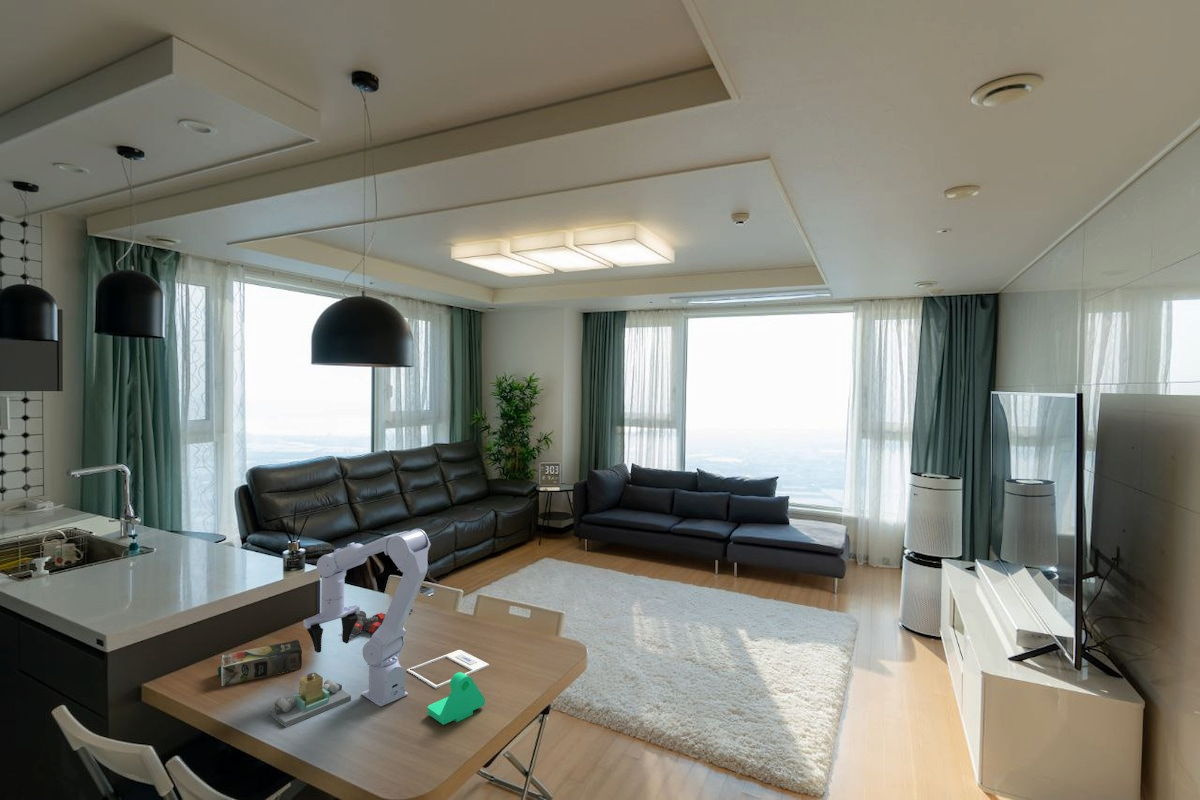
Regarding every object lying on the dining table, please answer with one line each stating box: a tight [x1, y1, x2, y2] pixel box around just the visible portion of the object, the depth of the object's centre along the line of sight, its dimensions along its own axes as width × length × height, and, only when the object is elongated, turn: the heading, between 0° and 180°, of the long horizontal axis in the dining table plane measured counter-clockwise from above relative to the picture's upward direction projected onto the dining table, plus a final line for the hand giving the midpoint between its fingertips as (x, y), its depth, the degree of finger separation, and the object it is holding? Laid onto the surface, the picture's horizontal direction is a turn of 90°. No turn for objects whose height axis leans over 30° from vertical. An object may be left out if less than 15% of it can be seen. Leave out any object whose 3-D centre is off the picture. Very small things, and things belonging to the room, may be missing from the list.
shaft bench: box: [268, 679, 352, 728], centre depth 143 cm, size 9×16×4 cm, turn 141°
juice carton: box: [216, 639, 303, 687], centre depth 161 cm, size 20×10×6 cm, turn 124°
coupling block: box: [298, 672, 324, 707], centre depth 143 cm, size 4×4×7 cm
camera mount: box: [427, 671, 486, 726], centre depth 142 cm, size 12×8×10 cm, turn 138°
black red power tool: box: [351, 608, 414, 636], centre depth 194 cm, size 6×26×15 cm
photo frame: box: [406, 649, 490, 689], centre depth 165 cm, size 15×1×18 cm
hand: (331, 646), depth 155 cm, fingers open, 7 cm apart
